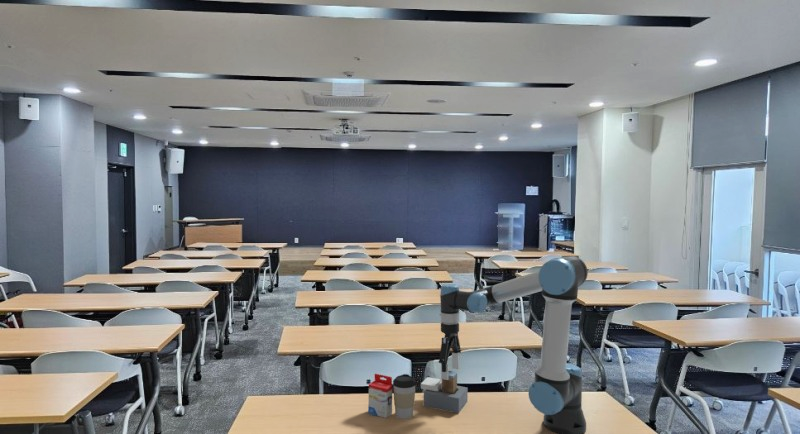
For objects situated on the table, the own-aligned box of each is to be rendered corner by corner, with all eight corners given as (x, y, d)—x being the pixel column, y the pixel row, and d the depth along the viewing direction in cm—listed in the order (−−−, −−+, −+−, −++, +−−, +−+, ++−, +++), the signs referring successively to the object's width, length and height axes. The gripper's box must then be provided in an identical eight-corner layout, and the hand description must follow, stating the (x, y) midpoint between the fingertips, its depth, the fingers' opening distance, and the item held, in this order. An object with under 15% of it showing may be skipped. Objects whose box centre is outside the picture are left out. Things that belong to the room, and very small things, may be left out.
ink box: (367, 413, 182) (367, 377, 181) (374, 408, 186) (374, 373, 186) (386, 418, 178) (386, 381, 177) (392, 413, 182) (392, 376, 182)
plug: (456, 400, 192) (457, 372, 191) (453, 405, 187) (453, 376, 187) (445, 398, 194) (445, 370, 194) (441, 403, 189) (441, 374, 189)
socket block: (467, 401, 193) (467, 387, 193) (458, 413, 182) (458, 398, 182) (434, 395, 200) (434, 381, 200) (423, 406, 189) (423, 391, 189)
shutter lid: (444, 384, 195) (444, 379, 195) (437, 391, 188) (437, 385, 188) (427, 381, 199) (427, 376, 199) (420, 388, 191) (420, 382, 191)
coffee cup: (413, 421, 176) (413, 382, 175) (390, 419, 177) (390, 380, 177) (417, 410, 185) (417, 373, 184) (395, 408, 186) (395, 372, 186)
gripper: (450, 315, 202) (451, 363, 203) (430, 328, 180) (430, 382, 180) (467, 316, 199) (467, 365, 200) (448, 330, 177) (449, 385, 177)
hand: (450, 373), depth 190 cm, fingers open, 13 cm apart
